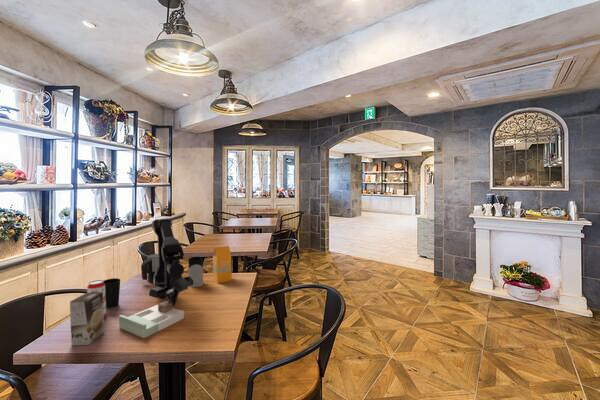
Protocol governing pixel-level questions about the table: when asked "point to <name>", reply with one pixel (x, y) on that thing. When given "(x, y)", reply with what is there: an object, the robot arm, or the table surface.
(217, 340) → the table surface
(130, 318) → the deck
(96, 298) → the coffee box
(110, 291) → the cup
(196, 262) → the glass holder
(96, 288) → the beer can
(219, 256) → the orange juice
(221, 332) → the table surface
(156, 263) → the milk frother
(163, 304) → the block
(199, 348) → the table surface
